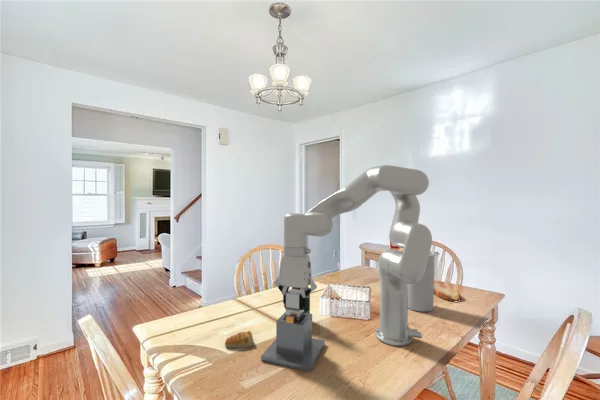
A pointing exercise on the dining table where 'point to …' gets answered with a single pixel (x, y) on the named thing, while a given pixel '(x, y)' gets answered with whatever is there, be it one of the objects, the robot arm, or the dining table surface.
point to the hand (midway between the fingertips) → (294, 306)
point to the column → (294, 305)
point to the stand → (294, 344)
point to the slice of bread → (447, 293)
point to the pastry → (240, 340)
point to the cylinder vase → (423, 290)
